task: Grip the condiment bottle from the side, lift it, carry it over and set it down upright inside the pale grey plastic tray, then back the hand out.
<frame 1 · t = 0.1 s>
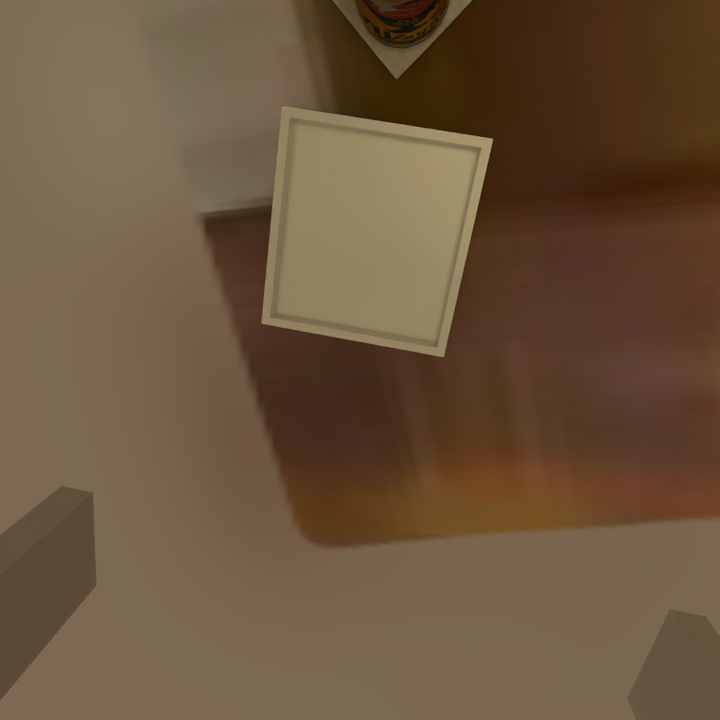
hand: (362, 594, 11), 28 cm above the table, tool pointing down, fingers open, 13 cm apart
tray: (370, 237, 35), on the table
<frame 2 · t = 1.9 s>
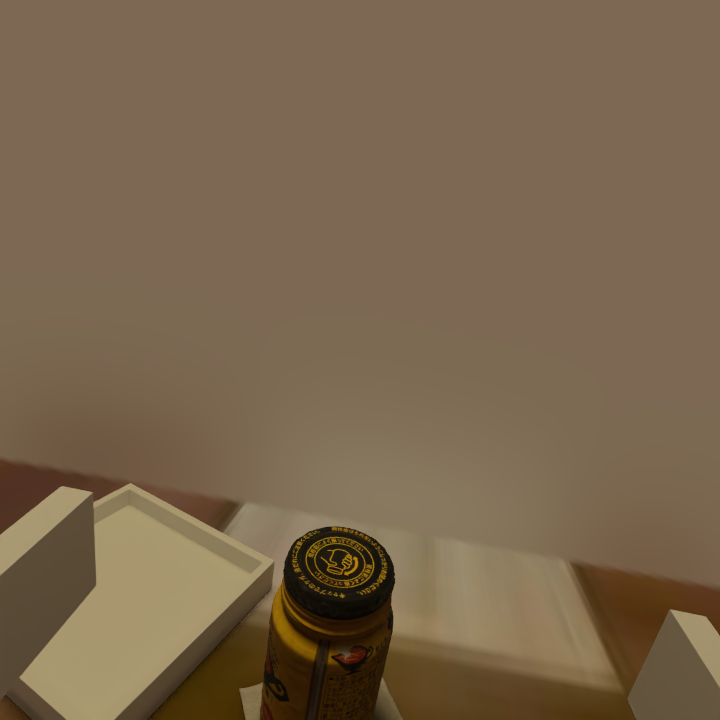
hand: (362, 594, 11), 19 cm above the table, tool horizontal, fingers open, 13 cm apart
tray: (117, 604, 32), on the table
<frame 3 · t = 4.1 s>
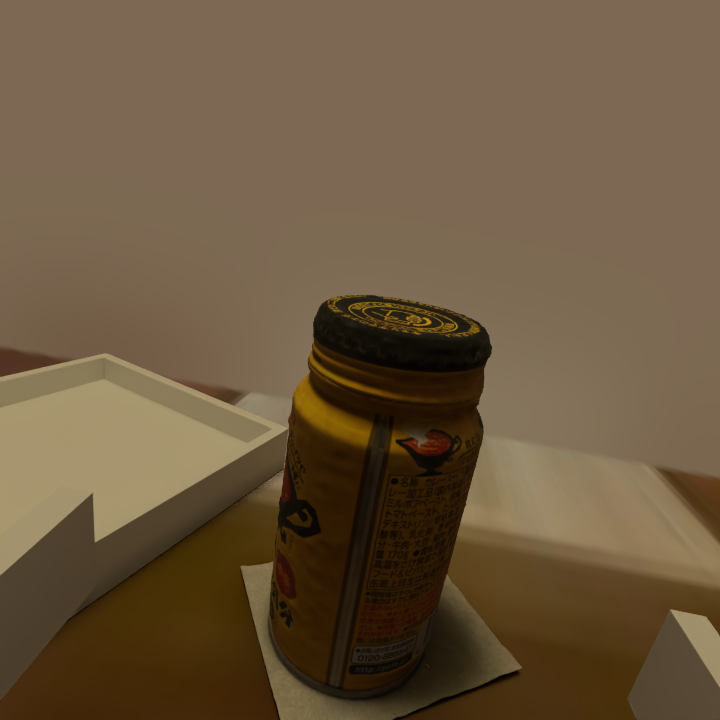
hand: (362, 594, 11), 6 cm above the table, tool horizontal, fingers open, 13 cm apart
tray: (76, 471, 23), on the table
condiment: (369, 623, 18), on the table
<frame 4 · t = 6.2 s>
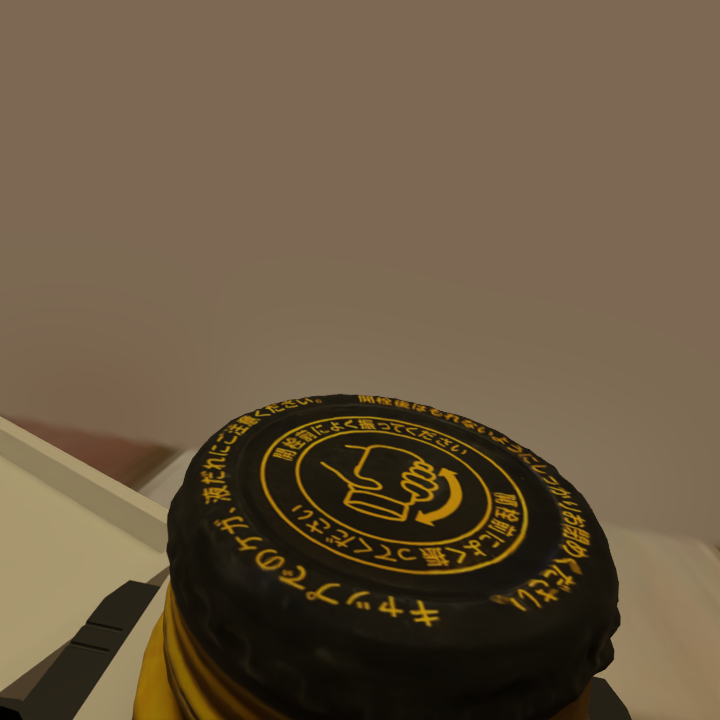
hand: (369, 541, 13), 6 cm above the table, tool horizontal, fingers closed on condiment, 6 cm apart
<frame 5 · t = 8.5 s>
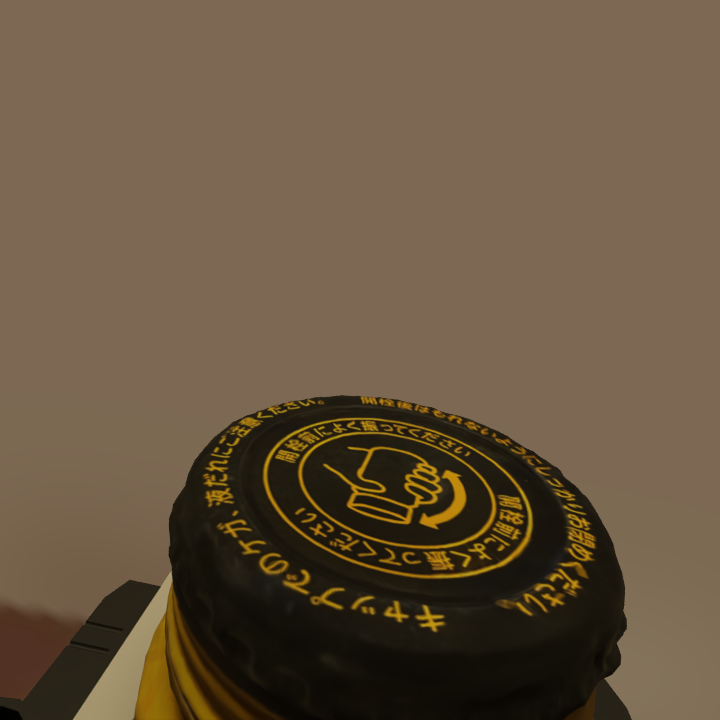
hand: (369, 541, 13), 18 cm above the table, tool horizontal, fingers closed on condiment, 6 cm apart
when the fingers open (9 cm above the table, at t = 10.9 s): condiment drops 1 cm, resting on tray.
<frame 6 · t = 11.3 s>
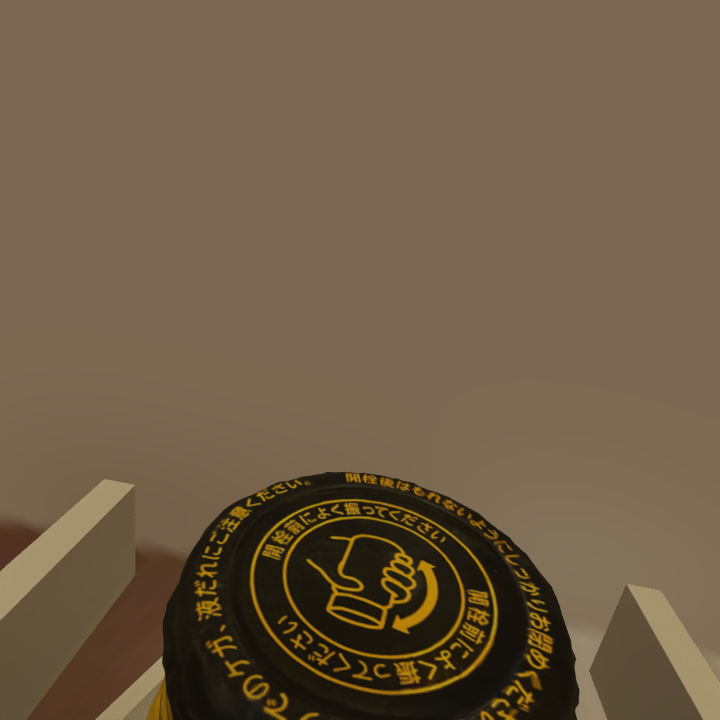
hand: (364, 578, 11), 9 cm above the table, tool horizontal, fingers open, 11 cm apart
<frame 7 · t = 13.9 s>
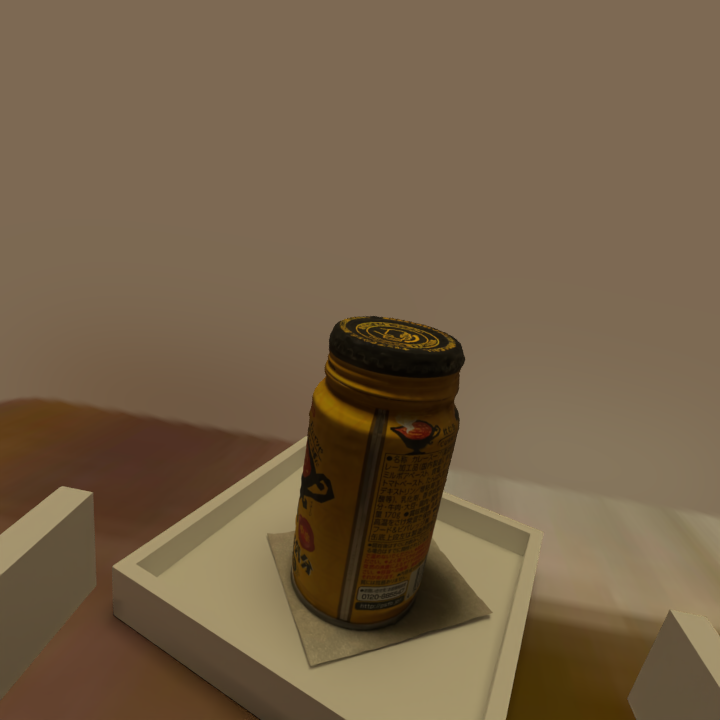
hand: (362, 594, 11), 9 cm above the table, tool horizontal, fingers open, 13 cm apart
tray: (351, 588, 23), on the table
condiment: (371, 578, 22), point 1 cm above the table, touching tray
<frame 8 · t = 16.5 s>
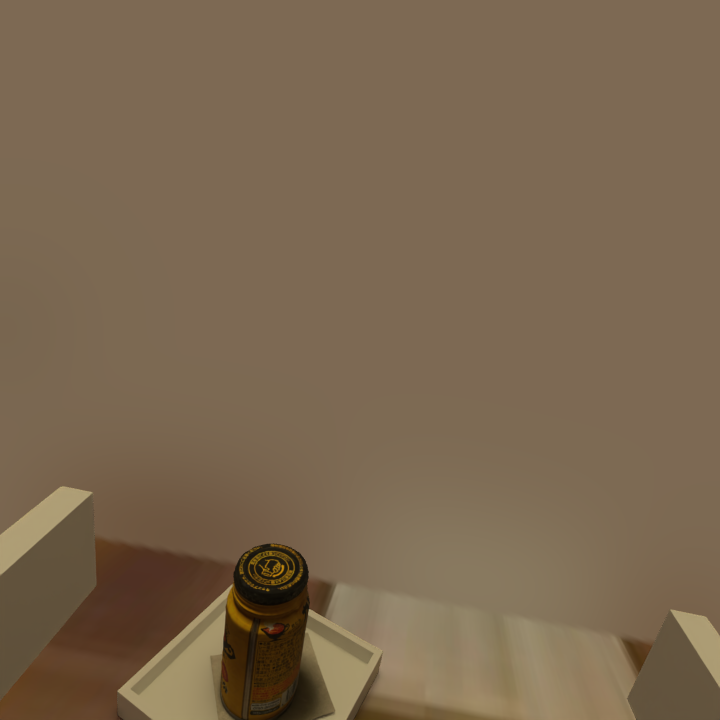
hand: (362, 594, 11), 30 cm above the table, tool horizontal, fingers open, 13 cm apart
tray: (258, 692, 38), on the table
condiment: (269, 686, 38), point 1 cm above the table, touching tray
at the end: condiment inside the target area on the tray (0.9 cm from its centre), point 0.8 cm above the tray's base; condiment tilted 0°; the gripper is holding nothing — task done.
